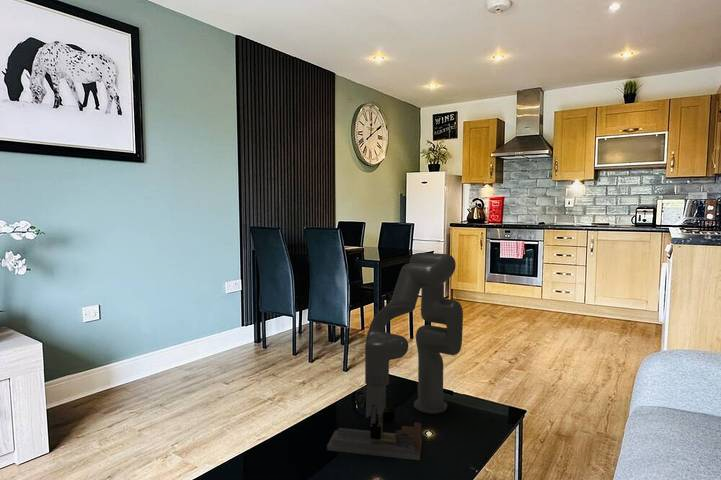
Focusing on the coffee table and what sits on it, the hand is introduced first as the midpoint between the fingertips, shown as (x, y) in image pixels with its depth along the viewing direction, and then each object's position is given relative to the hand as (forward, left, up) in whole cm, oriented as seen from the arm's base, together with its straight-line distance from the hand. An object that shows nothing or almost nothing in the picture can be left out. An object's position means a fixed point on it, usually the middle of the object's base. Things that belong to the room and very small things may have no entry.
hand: (376, 433), depth 140 cm
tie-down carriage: (0, +4, -3) cm, 5 cm away
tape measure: (-21, -1, -5) cm, 21 cm away
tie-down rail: (0, -1, -4) cm, 4 cm away
